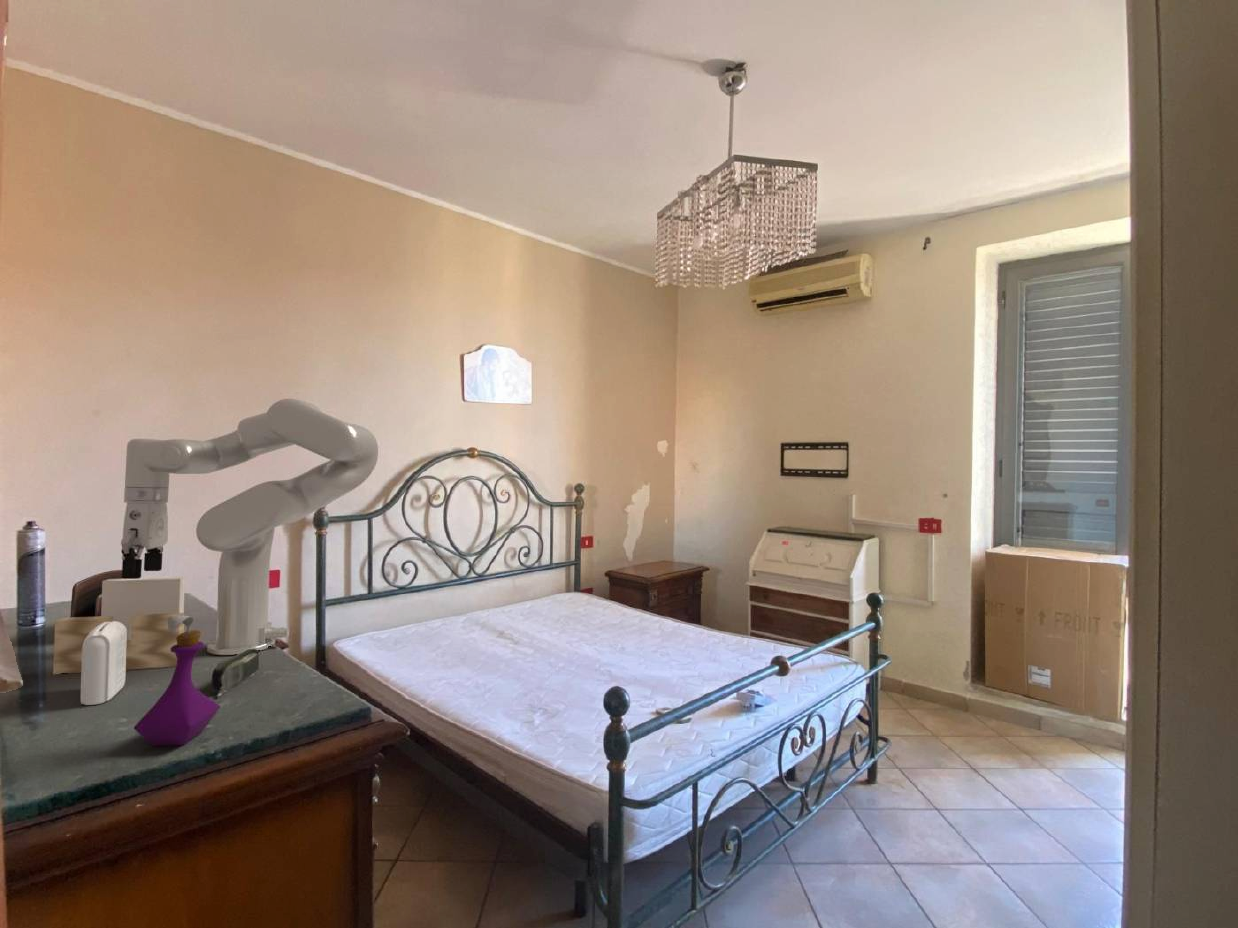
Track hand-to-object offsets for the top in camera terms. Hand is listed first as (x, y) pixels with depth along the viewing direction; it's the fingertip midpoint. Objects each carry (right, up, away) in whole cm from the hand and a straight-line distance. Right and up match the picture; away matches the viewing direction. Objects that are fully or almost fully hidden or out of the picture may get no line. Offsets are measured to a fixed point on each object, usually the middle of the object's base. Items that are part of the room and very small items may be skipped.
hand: (142, 574), depth 128 cm
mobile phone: (+33, -17, -20) cm, 42 cm away
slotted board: (+6, -16, -13) cm, 21 cm away
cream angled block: (0, -16, 0) cm, 16 cm away
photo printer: (+15, -16, -27) cm, 34 cm away
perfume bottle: (+39, -16, -42) cm, 60 cm away
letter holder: (-16, -16, +14) cm, 27 cm away
